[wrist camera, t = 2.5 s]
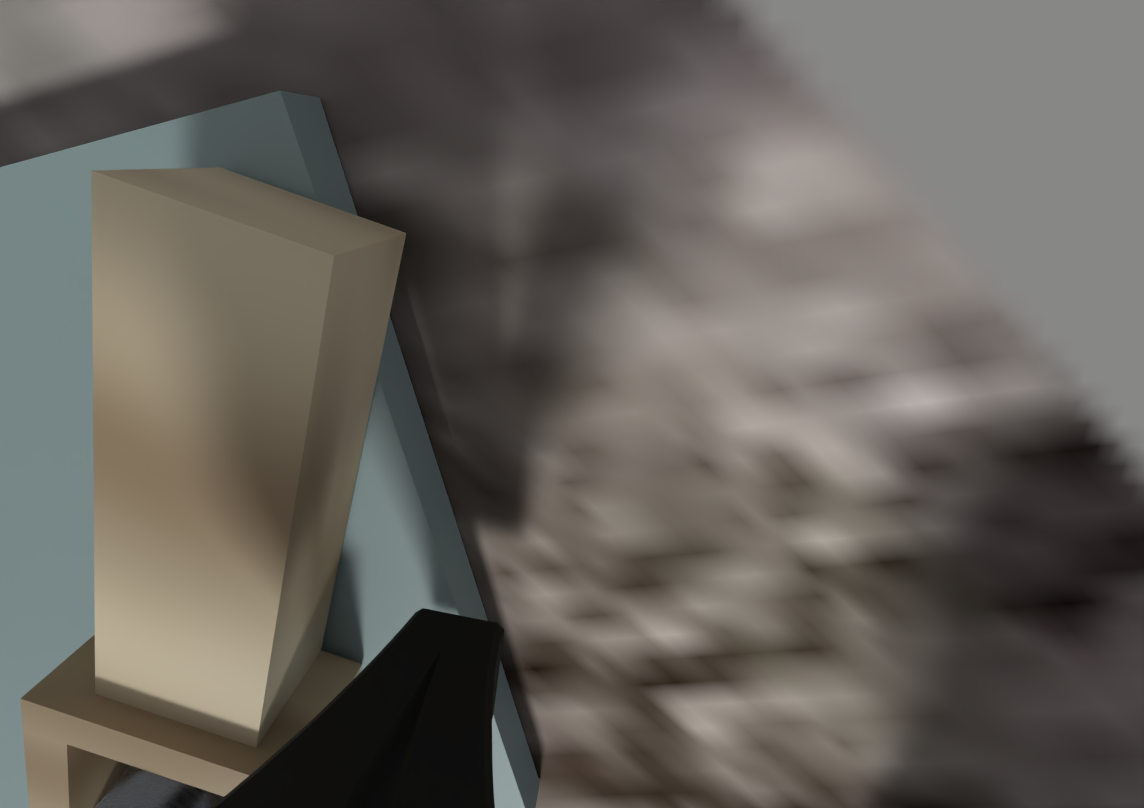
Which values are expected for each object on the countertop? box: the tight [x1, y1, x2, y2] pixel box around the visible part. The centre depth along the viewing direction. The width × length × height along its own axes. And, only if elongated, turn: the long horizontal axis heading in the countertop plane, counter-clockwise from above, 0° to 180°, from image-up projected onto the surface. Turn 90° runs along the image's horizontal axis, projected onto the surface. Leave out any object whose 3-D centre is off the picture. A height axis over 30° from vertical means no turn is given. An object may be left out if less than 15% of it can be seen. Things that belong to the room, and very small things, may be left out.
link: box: [20, 167, 406, 808], centre depth 9 cm, size 12×4×2 cm, turn 162°
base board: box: [0, 90, 540, 808], centre depth 11 cm, size 14×14×3 cm
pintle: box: [95, 765, 223, 808], centre depth 11 cm, size 2×2×4 cm
